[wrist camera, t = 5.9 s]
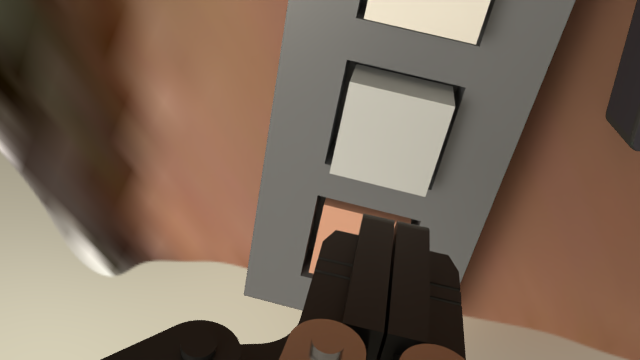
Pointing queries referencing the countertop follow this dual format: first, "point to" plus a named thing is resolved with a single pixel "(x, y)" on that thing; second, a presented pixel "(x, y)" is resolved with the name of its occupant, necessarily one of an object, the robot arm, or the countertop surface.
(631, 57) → the button control panel
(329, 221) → the terracotta key
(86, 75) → the countertop surface
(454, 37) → the white key
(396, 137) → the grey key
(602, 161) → the countertop surface
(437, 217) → the keypad
